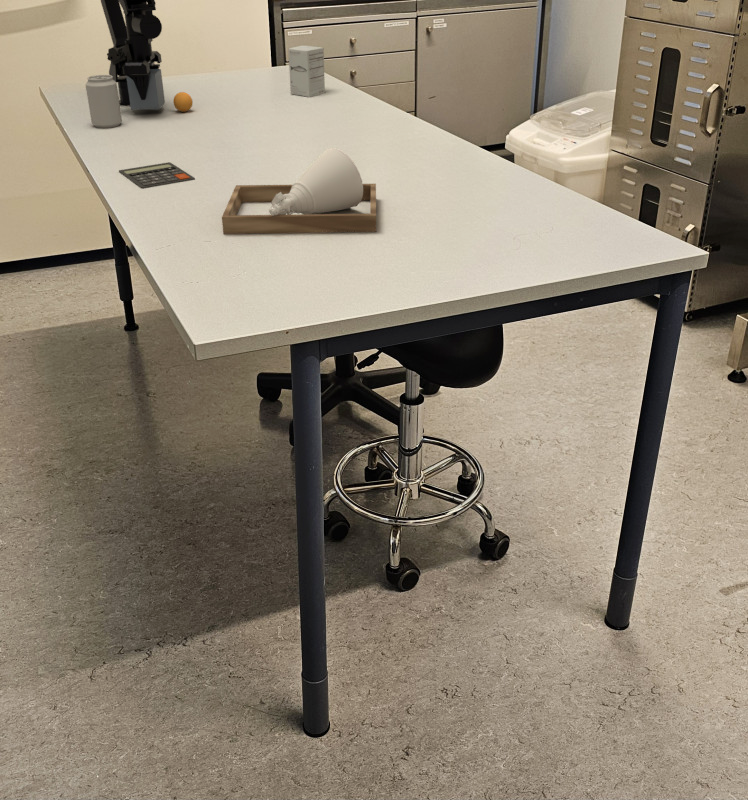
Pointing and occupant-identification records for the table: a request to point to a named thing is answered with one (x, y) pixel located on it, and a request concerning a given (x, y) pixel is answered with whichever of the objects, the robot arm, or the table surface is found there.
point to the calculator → (156, 175)
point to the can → (103, 101)
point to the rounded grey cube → (148, 92)
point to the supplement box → (306, 70)
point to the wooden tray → (292, 222)
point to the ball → (182, 101)
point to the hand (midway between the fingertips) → (146, 96)
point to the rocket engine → (323, 187)
